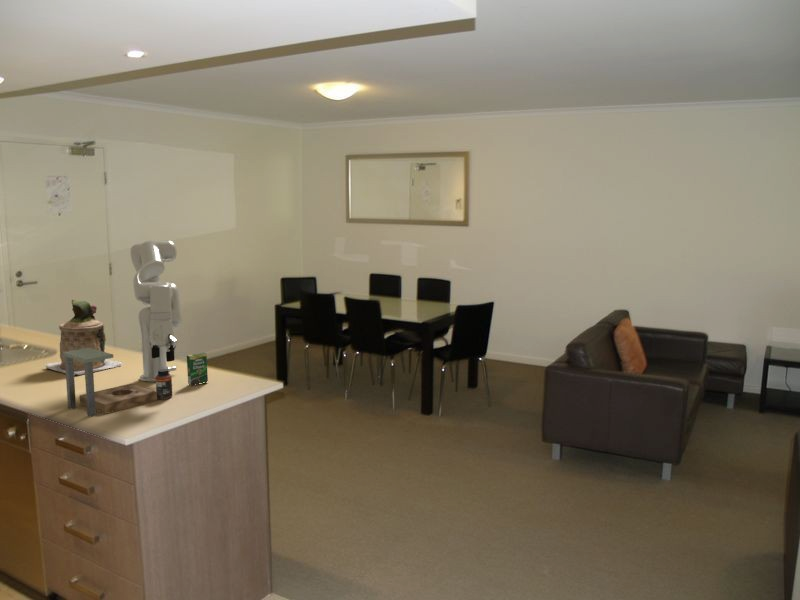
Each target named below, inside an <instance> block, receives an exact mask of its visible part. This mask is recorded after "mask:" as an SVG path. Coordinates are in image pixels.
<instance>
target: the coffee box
mask: <svg viewBox="0 0 800 600" xmlns="http://www.w3.org/2000/svg"><path fill="white" fill-rule="evenodd" d="M207 356H208V355H207V353H205V352H199V353H195V354H188V355H186V365H187V366H186V367H187V368H186V371H187V385H188V384H189V385H188V386H190V385H195V384H199V383H203V382H207V381H208V382H209V377H208V359H207V358H208V357H207ZM199 385H200V384H199ZM195 386H196V385H195Z"/></svg>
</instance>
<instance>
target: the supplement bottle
mask: <svg viewBox="0 0 800 600" xmlns="http://www.w3.org/2000/svg"><path fill="white" fill-rule="evenodd" d="M155 391H156V392H157V400H168V399H171V398H172V397H173V380H172V375H171V374H170V372H169V370H168V369H159V370H158V375H157V376H156V382H155Z"/></svg>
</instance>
